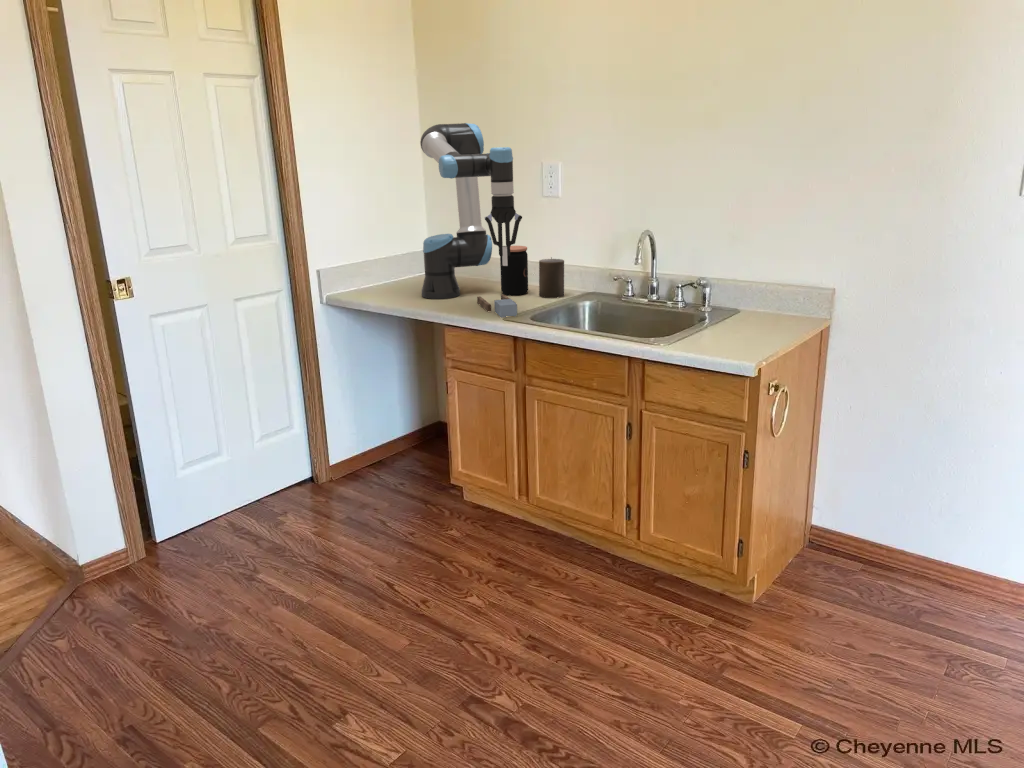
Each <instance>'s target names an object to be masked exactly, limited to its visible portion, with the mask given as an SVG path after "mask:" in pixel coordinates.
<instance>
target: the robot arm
mask: <svg viewBox="0 0 1024 768" xmlns="http://www.w3.org/2000/svg"><path fill="white" fill-rule="evenodd" d="M484 143H485V142H484V137H483V133H482V131H481V128H480V127H479V126H478V125H477V124H475V123H467V122H464V123H462V122H461V123H439V124H434V125H432V126H429V128H427V129H426V130H425V131H423V134H422V135H421V137H420V141H419V144H420V149H421V151H422V152H423V154H424V155H426V156H427V157H428V158H431V159H434V161H435V162H437V164H438V171H439V174H440V177H442V179H455V188H456V198H457V208H458V209H457V211H458V222H459V228H458V230H457V231H456V236H455V237H454V235H453V234H452V233H441V234H436V235H431V236H428V237H426V238H425V239H424V241H423V242H422V244H423V249H422V252H423V263H424V279H423V283H422V287H421V297H422V298H424V299H431V300H432V299H433V300H443V299H451V298H456V297H459V296H460V295H461V289H460V285H459V282H458V280H457V277H456V273H455V271H456V270H455V268H465V267H478V266H479V267H480V266H485V265H487V264H489V262H490V260H491V257H492V253H493V245H494V246H498V255H499V257H500V256H502V265H503V266H508V262H507V256H510V246H514V245H515V244H516V240H517V236H518V231H519V225H520V222H521V221H522V219H523V216H522V215H521V214H518V213H517V211H516V210H515V209H516V208H515V196H514V195H513V194H514V164H513V162H514V161H513V160H514V157H513V149H512V148H511V147H509V146H502V147H500V146H499V147H491V148H490V149H489V152H488V153H484V149H485V147H484V146H485V144H484ZM478 177H479V178H480V177H490V189H491V190H490V192H491V193H490V194H491V195H492V196H491V211H490V214H489V215H487V216H484V220H485V222H486V224H487V226H488V230H489V233H490V235H489V234H487V230H486V229H485V228H484V227H483V226H482V215H481V203H480V202H481V201H480V190H479V181H478V180H479V179H478ZM493 219H494V221H495V222H496V223H497V236H496V233H495V230H494V226H493V223H492V221H493ZM513 219H514V220H515V221H514V225H513V229H512V235H511V231H510V229H511V227H510V225H511V224H510V223H511V222H512V220H513ZM503 224H504V226H505V227H504V229H505V245H503V241H504V239H503Z"/></svg>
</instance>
